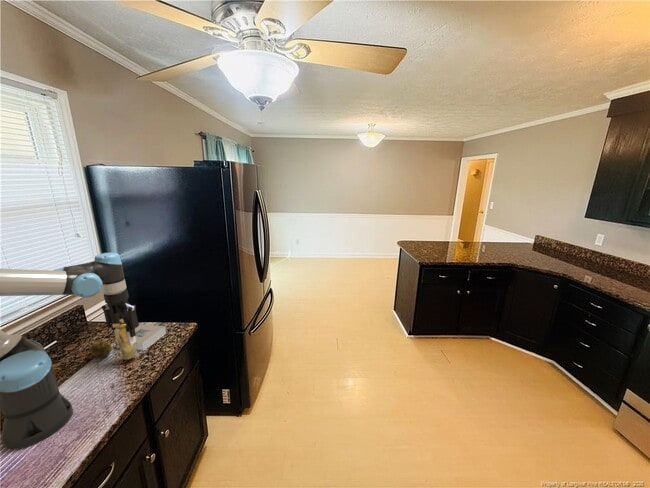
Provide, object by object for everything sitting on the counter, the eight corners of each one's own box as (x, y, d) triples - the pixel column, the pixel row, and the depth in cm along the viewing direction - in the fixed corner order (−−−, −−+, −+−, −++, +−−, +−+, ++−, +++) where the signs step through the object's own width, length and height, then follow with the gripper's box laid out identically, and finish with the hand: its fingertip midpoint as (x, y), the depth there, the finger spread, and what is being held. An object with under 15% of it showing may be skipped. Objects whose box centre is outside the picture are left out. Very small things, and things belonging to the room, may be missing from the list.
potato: (117, 345, 123) (114, 329, 121) (111, 360, 112) (107, 344, 110) (95, 350, 120) (91, 334, 118) (86, 367, 108) (81, 350, 107)
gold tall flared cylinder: (129, 361, 108) (122, 326, 104) (116, 360, 109) (108, 325, 105) (142, 351, 114) (135, 318, 110) (129, 350, 115) (122, 317, 111)
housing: (143, 350, 119) (142, 342, 118) (116, 348, 121) (114, 340, 120) (166, 333, 132) (164, 326, 131) (141, 331, 134) (139, 324, 133)
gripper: (143, 288, 107) (153, 339, 112) (104, 286, 109) (116, 336, 115) (127, 296, 100) (138, 349, 105) (86, 294, 102) (99, 346, 108)
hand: (126, 342), depth 110 cm, fingers closed on gold tall flared cylinder, 5 cm apart
